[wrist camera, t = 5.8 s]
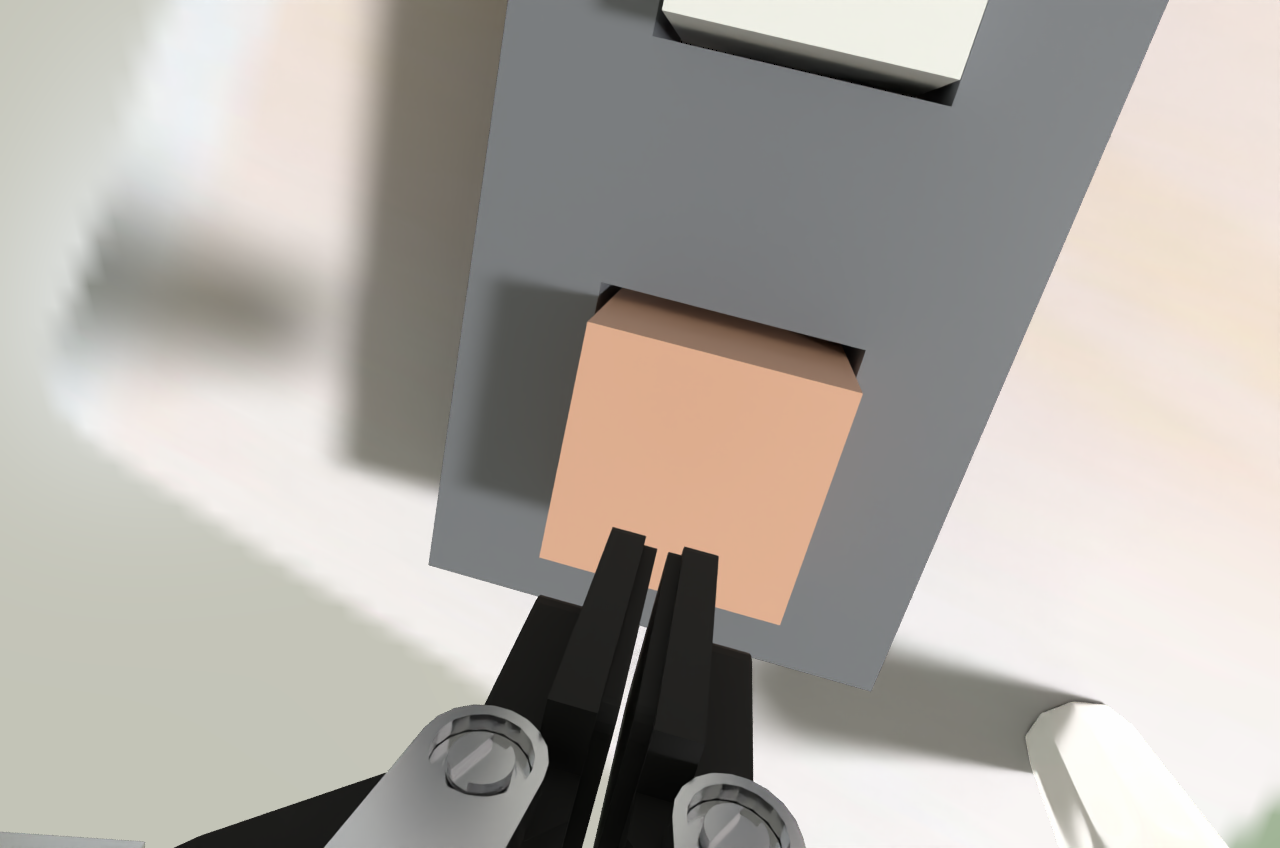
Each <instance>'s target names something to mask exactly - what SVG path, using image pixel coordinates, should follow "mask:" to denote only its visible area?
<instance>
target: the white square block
mask: <svg viewBox="0 0 1280 848" xmlns="http://www.w3.org/2000/svg"><path fill="white" fill-rule="evenodd" d="M987 2H988V0H664V2H663V7H662V11H663V12H664V14H665V15H666V17H667V18H668V20H669V22H670V23H671V25H672V26H673V28H674V29H675V31H676V32H677V34H678V35H679V37H680V38H681V40H682V41H683V42H686V43H690V44H694V45H698V46H703V47H707V48H711V49H715V50H720V51H724V52H728V53H732V54H737V55H741V56H745V57H749V58H754V59H758V60H762V61H766V62H770V63H775V64H779V65H783V66H787V67H792V68H796V69H800V70H804V71H809V72H813V73H817V74H821V75H826V76H830V77H834V78H838V79H842V80H847V81H851V82H855V83H859V84H864V85H868V86H872V87H876V88H881V89H885V90H889V91H893V92H898V93H902V94H906V95H910V96H914V97H916V96H918V95H921V94H924V93H926V92H929V91H932V90H934V89H937V88H940V87H942V86H945V85H948V84H950V83H953V82H956V81H958V80H960V79H961V76H962V73H963V70H964V67H965V64H966V62H967V59H968V56H969V53H970V50H971V47H972V44H973V42H974V39H975V36H976V33H977V30H978V27H979V25H980V22H981V19H982V16H983V13H984V10H985V7H986V5H987Z"/></svg>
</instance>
